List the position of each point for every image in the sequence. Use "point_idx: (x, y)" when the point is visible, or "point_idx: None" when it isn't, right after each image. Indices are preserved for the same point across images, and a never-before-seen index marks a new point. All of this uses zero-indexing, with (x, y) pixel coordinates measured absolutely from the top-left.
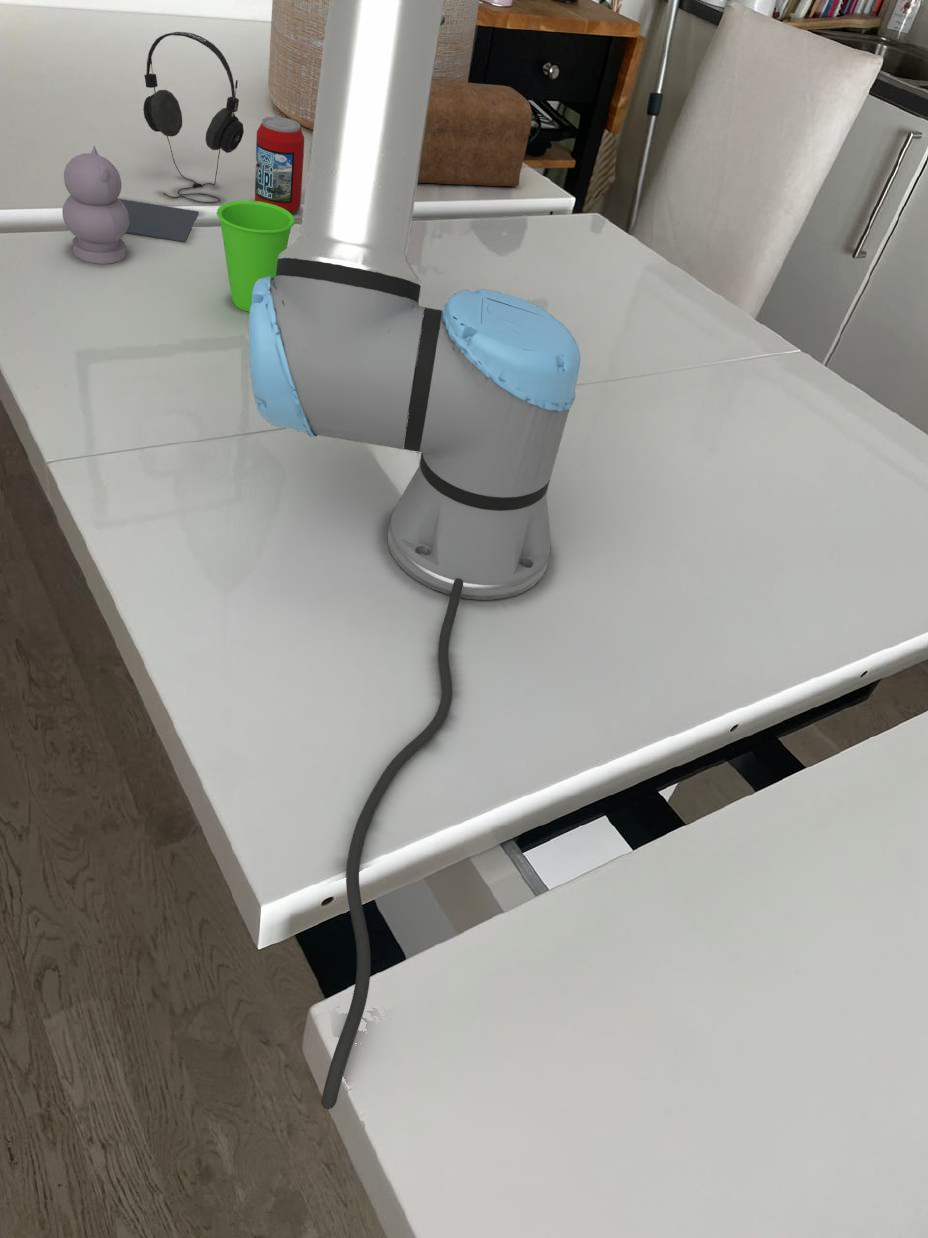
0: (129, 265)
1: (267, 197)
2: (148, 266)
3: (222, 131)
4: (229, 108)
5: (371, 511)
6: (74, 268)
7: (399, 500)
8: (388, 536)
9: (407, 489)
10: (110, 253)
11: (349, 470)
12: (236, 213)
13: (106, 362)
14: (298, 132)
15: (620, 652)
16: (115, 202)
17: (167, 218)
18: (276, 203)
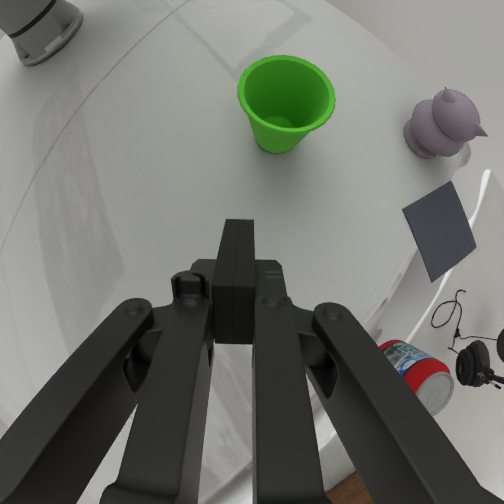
0: (394, 132)
1: (396, 343)
2: (385, 140)
3: (473, 352)
4: (485, 367)
5: (92, 20)
6: (409, 105)
7: (73, 9)
8: (81, 13)
9: (67, 4)
10: (408, 124)
11: (109, 29)
12: (324, 110)
13: (289, 16)
14: None
15: (7, 47)
16: (435, 122)
17: (438, 242)
18: (385, 346)
